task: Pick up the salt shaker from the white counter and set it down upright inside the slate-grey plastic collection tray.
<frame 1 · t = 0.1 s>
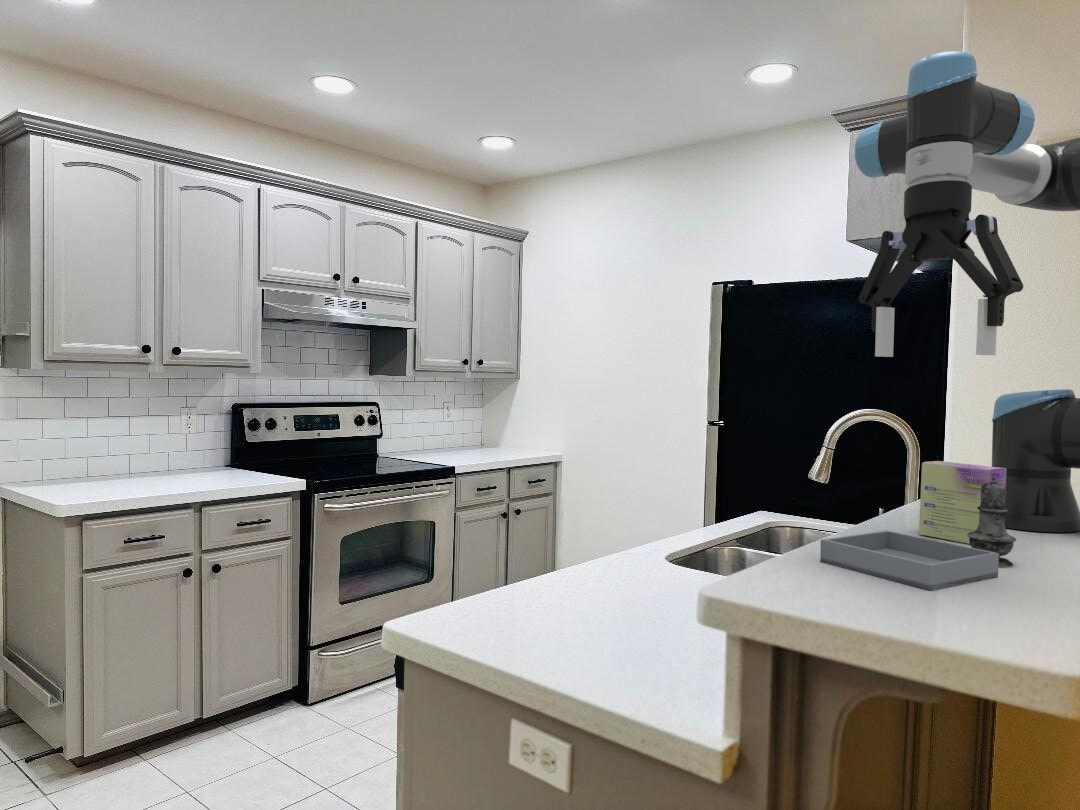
hand: (931, 356, 97), 28 cm above the countertop, fingers open, 13 cm apart
tray: (906, 568, 102), on the countertop
box: (960, 540, 121), on the countertop
salt shaker: (990, 563, 106), on the countertop
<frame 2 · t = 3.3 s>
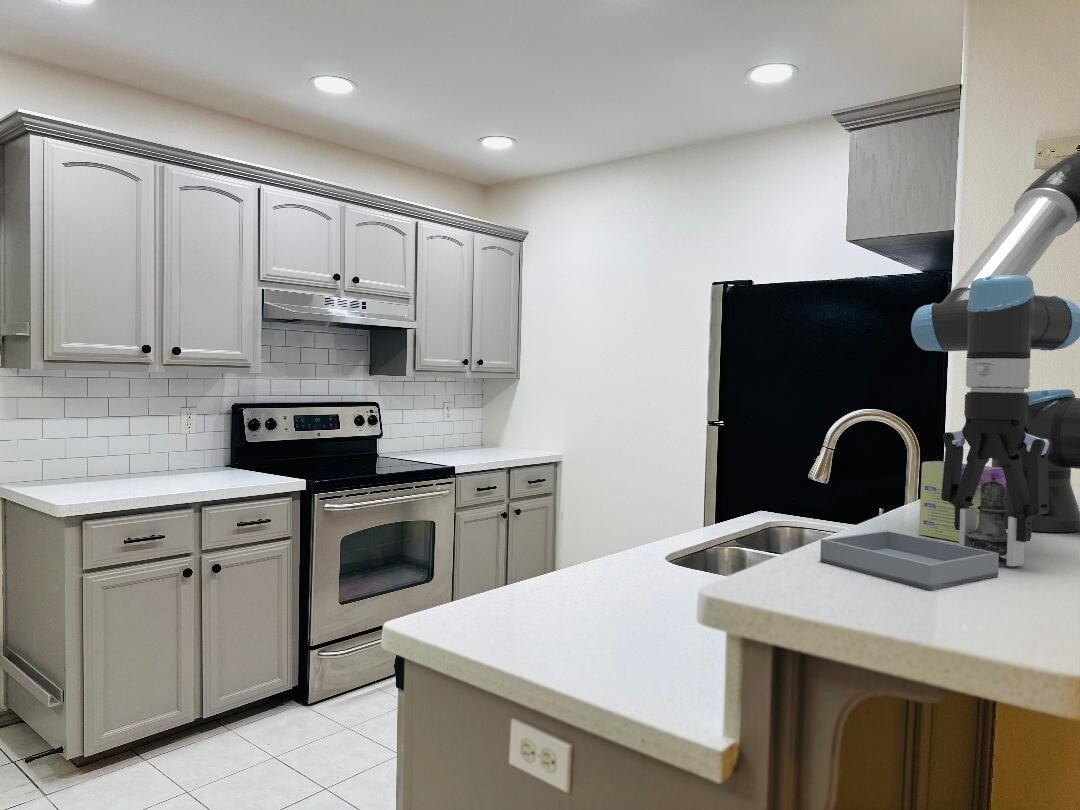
hand: (990, 559, 106), 0 cm above the countertop, fingers closed on salt shaker, 6 cm apart
salt shaker: (990, 563, 106), on the countertop, touching gripper
everything else where it was.
when the fingers open (2 cm above the countertop, at t = 7.8 s): salt shaker drops 1 cm, resting on tray.
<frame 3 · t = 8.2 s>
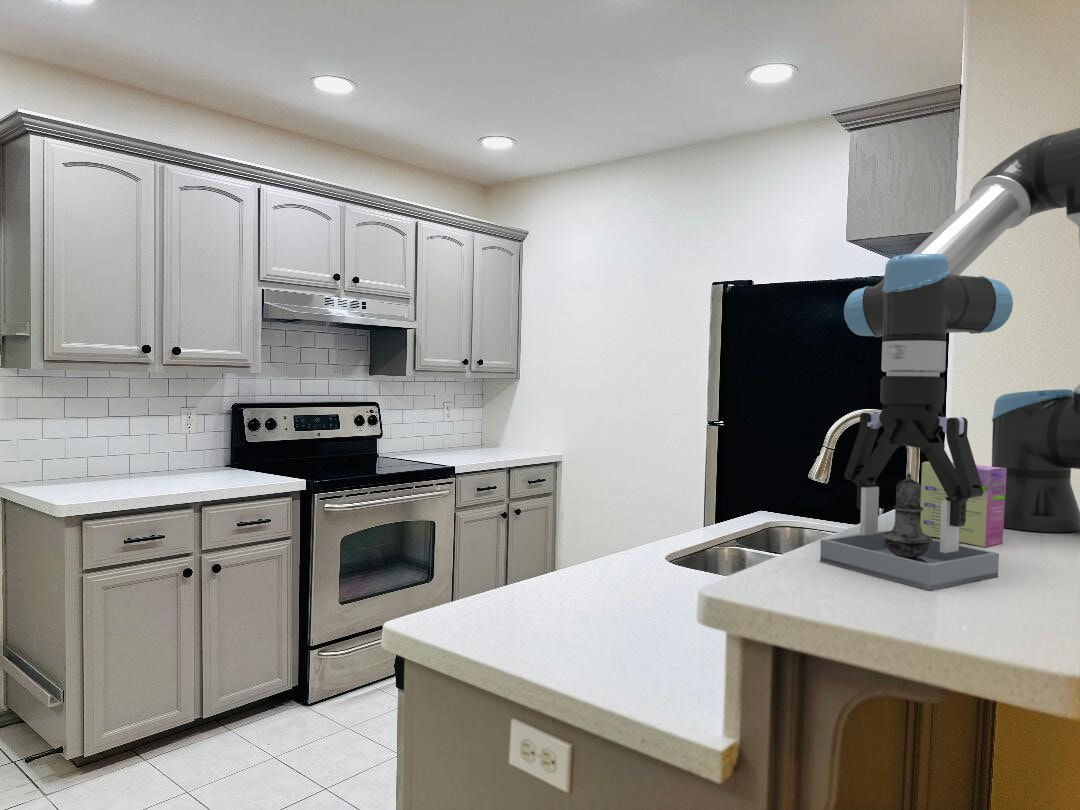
hand: (906, 542, 102), 3 cm above the countertop, fingers open, 11 cm apart
salt shaker: (906, 564, 102), point 1 cm above the countertop, touching tray
everything else where it was.
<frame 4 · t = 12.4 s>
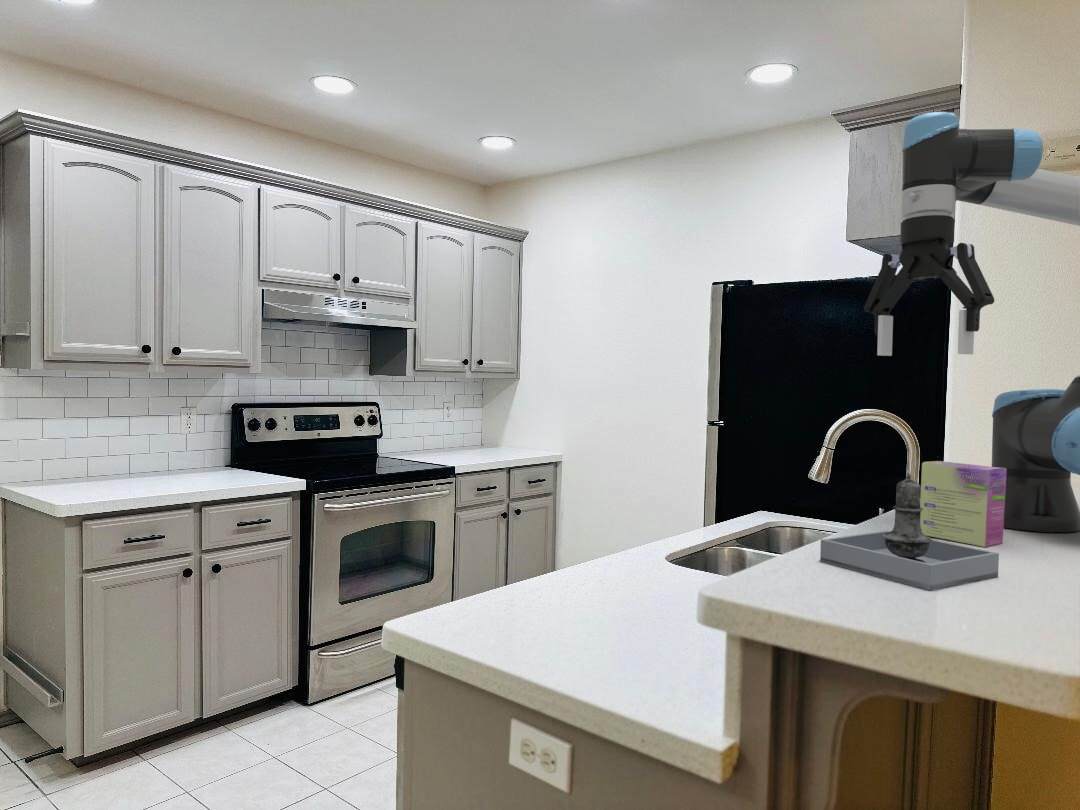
hand: (923, 355, 121), 29 cm above the countertop, fingers open, 13 cm apart
nothing on the countertop moved.
at the end: salt shaker inside the target area on the tray (0.0 cm from its centre), point 0.4 cm above the tray's base; salt shaker tilted 0°; the gripper is holding nothing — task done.
